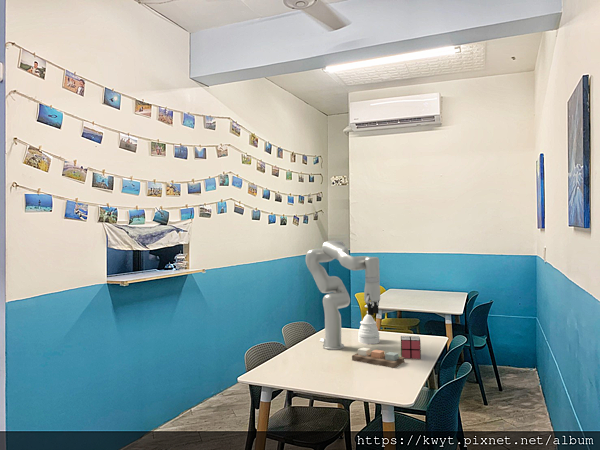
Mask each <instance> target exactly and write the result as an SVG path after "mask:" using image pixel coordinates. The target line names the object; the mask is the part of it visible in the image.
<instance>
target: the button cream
mask: <svg viewBox="0 0 600 450" xmlns="http://www.w3.org/2000/svg"><path fill="white" fill-rule="evenodd" d="M371 351H372V348H370V347H369V348H368V347H360V348H358V349H357V353H358V355H362V356H368V355H371Z"/></svg>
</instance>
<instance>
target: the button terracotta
mask: <svg viewBox="0 0 600 450" xmlns="http://www.w3.org/2000/svg"><path fill="white" fill-rule="evenodd" d="M384 354H385V350H380V349H373V350H371V357H373V358H379V359H381V358H383V357H385V356H384Z"/></svg>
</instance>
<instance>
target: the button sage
mask: <svg viewBox="0 0 600 450" xmlns="http://www.w3.org/2000/svg"><path fill="white" fill-rule="evenodd" d="M384 354H385V360H390V361H396V360H398V359H399V357H400V356H399V353H398V352H392V351H388V352H386V353H384Z"/></svg>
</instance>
